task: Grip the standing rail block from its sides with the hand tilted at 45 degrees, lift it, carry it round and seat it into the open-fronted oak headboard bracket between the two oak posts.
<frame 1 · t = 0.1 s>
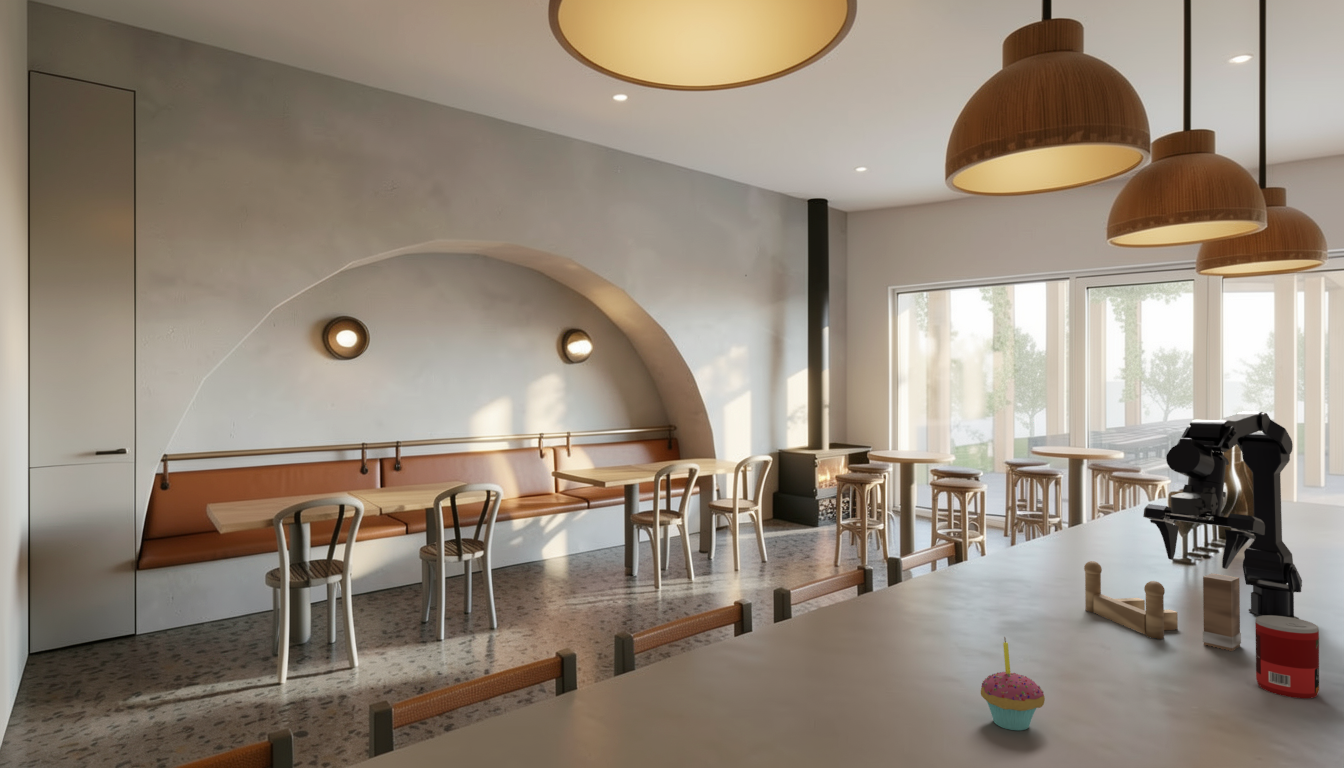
hand: (1196, 563, 146), 15 cm above the table, tool pointing down, fingers open, 9 cm apart
canned food: (1287, 691, 124), on the table
rail block: (1221, 645, 145), on the table
headboard bracket: (1141, 622, 160), on the table
cupcake: (1012, 725, 111), on the table
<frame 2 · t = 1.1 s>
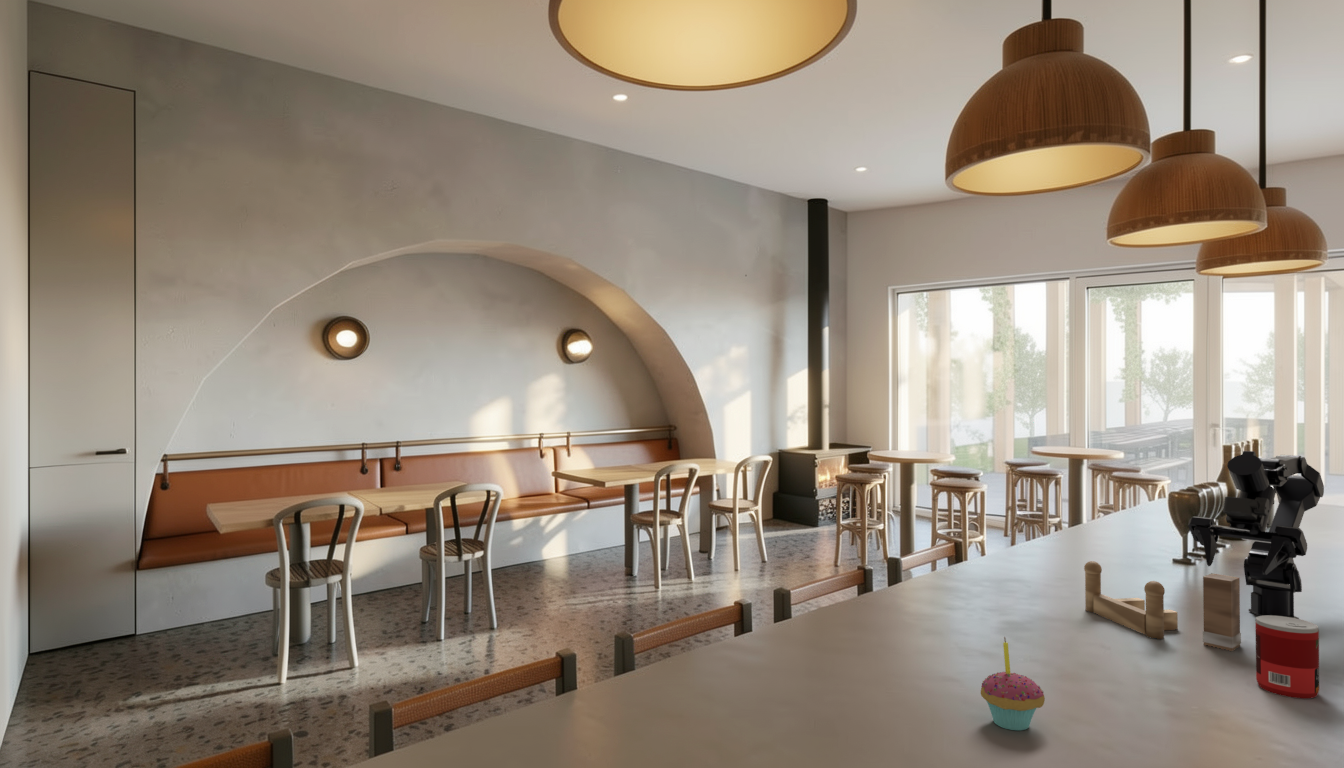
hand: (1235, 569, 150), 13 cm above the table, tool tilted 45°, fingers open, 9 cm apart
nothing on the table moved.
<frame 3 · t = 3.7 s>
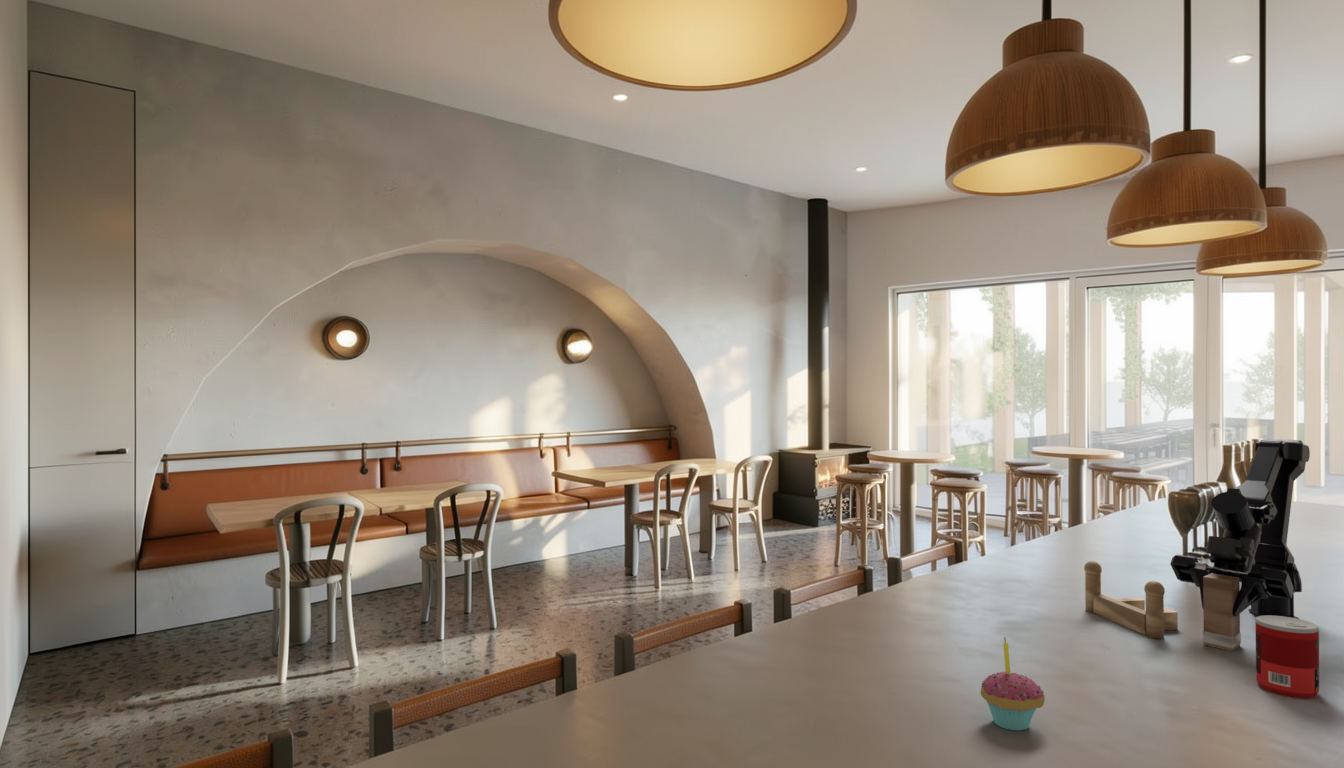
hand: (1218, 612, 145), 7 cm above the table, tool tilted 45°, fingers closed on rail block, 4 cm apart
rail block: (1221, 645, 145), on the table, touching gripper
everything else where it was.
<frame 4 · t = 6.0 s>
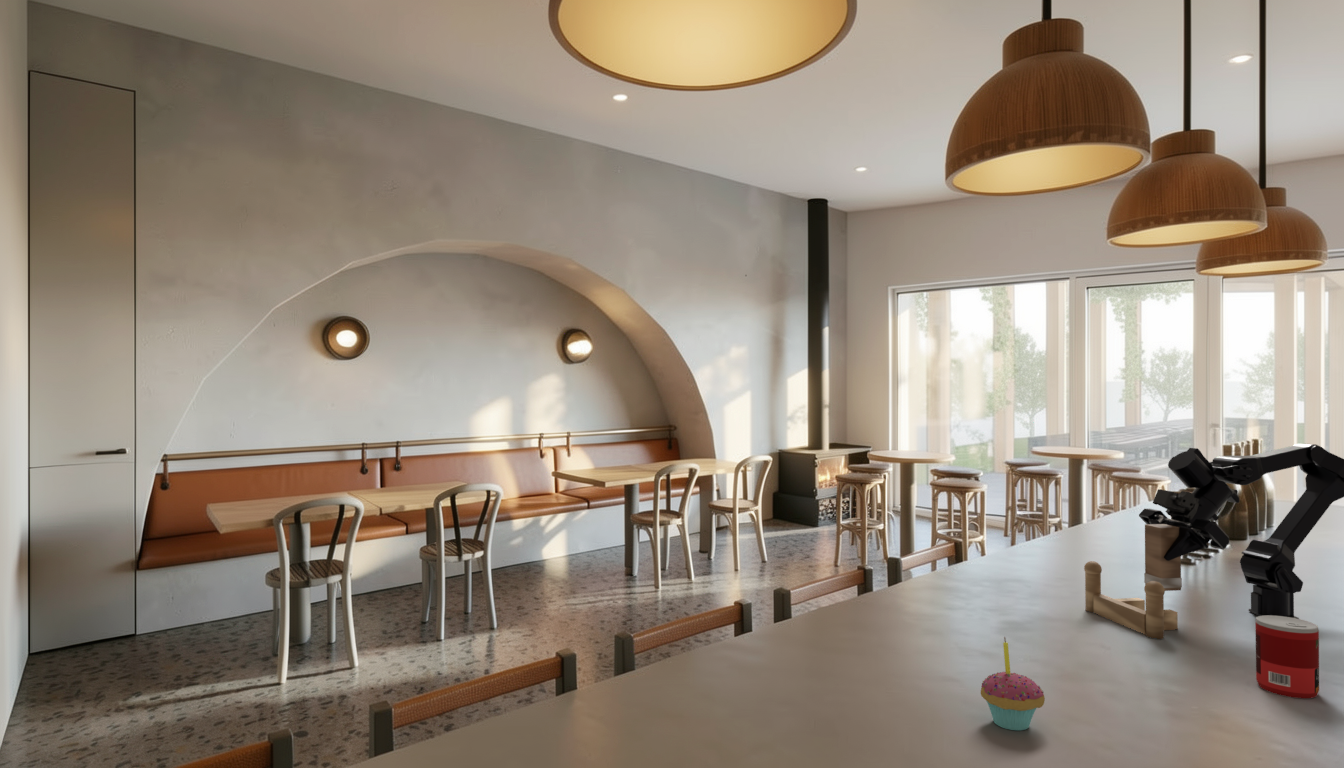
hand: (1156, 556, 161), 14 cm above the table, tool tilted 45°, fingers closed on rail block, 4 cm apart
rail block: (1162, 587, 161), point 7 cm above the table, touching gripper
everything else where it was.
when the fingers open (8 cm above the table, at t = 8.3 s): rail block drops 2 cm, on the table.
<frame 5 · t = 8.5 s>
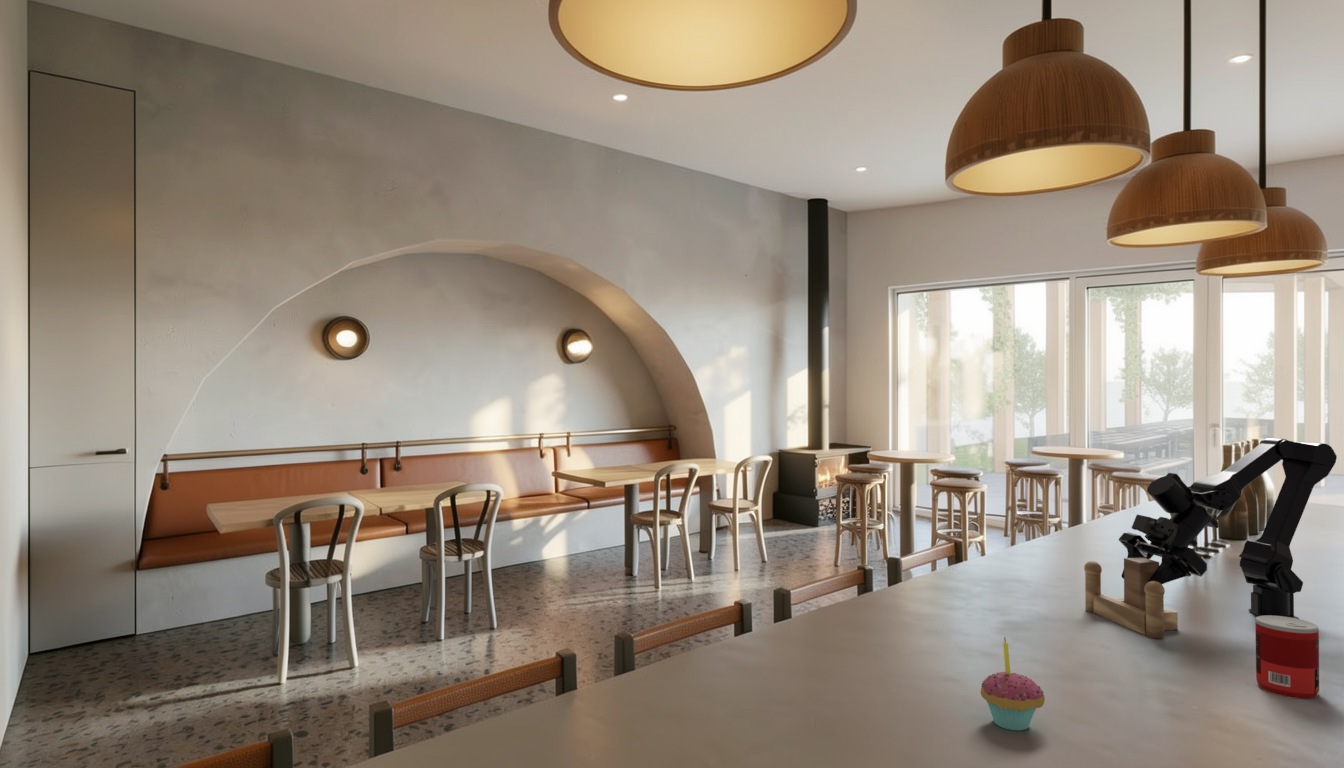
hand: (1135, 582, 160), 8 cm above the table, tool tilted 45°, fingers open, 7 cm apart
rail block: (1141, 622, 160), on the table
everything else where it was.
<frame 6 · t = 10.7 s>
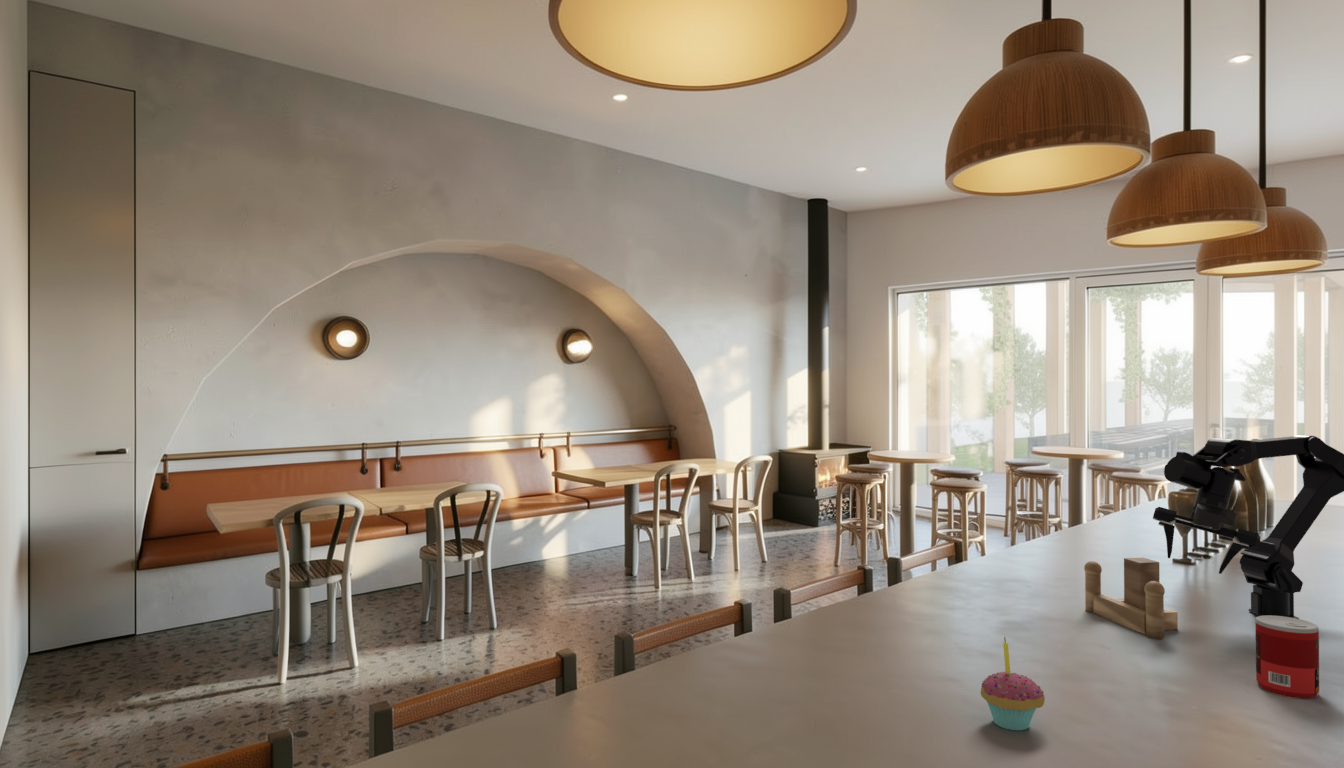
hand: (1193, 565, 163), 11 cm above the table, tool tilted 15°, fingers open, 9 cm apart
nothing on the table moved.
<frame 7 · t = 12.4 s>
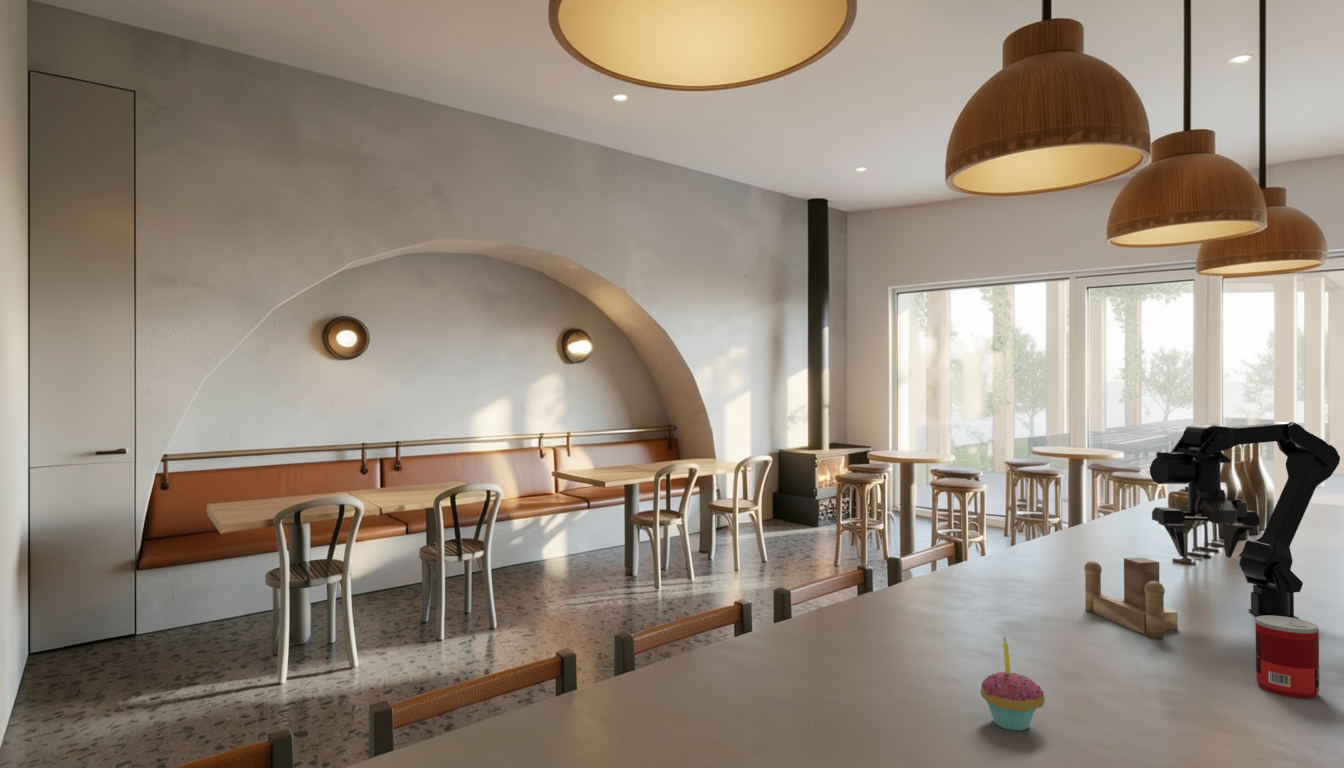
hand: (1205, 556, 163), 13 cm above the table, tool pointing down, fingers open, 9 cm apart
nothing on the table moved.
at the end: rail block 0.0 cm from the target spot, on the table; rail block tilted 0°; the gripper is holding nothing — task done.
